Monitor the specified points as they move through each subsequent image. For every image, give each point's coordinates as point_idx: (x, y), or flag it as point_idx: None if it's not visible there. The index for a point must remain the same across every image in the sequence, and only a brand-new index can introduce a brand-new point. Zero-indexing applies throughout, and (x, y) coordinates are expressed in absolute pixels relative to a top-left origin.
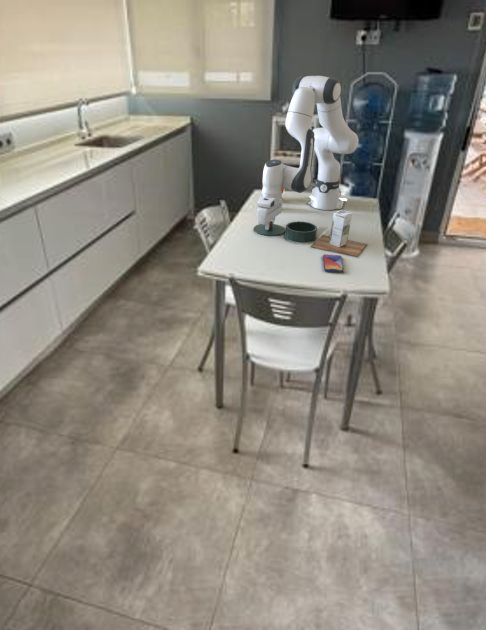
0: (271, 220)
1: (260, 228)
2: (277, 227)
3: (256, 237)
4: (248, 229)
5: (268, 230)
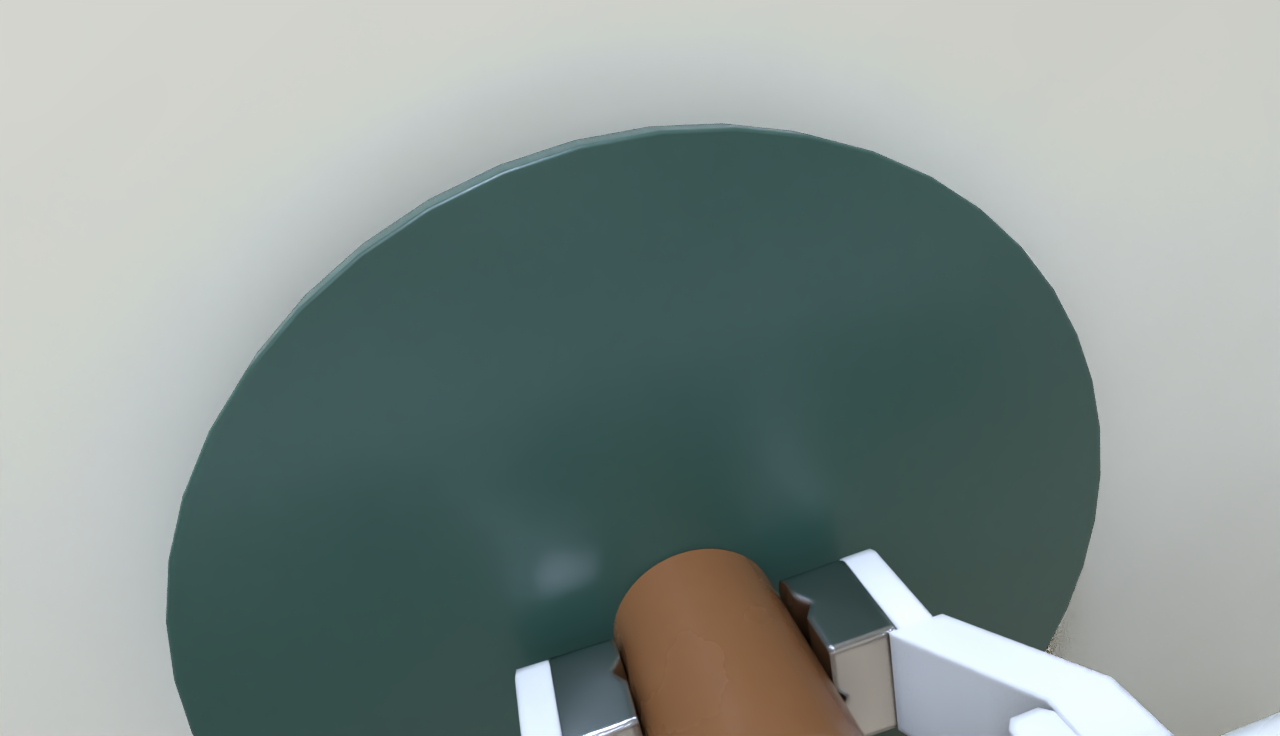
0: (972, 707)
1: (528, 447)
2: None
3: (14, 685)
4: (296, 7)
5: None
